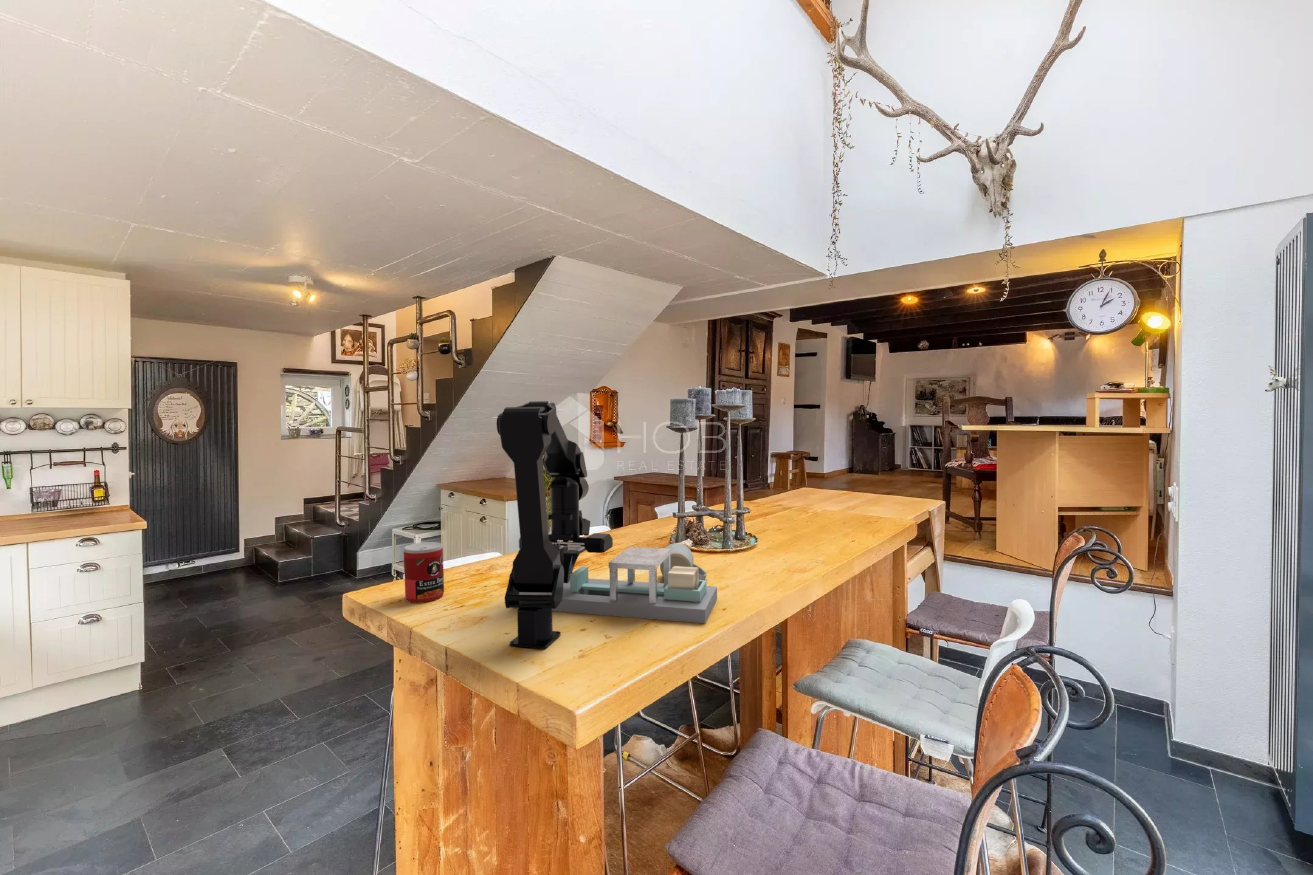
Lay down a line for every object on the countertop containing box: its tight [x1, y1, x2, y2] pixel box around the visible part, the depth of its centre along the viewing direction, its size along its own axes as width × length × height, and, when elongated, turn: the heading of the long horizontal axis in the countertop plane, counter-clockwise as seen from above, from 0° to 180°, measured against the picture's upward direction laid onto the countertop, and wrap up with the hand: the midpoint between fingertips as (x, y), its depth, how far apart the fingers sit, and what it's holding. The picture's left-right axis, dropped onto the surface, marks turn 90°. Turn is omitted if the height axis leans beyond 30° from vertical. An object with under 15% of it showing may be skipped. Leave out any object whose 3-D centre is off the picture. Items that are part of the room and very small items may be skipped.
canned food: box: [403, 541, 445, 603], centre depth 118 cm, size 8×8×11 cm
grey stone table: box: [608, 546, 671, 604], centre depth 111 cm, size 13×9×8 cm
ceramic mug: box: [659, 542, 708, 580], centre depth 128 cm, size 11×8×8 cm
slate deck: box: [519, 578, 718, 624], centre depth 112 cm, size 14×38×2 cm, turn 75°
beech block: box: [668, 566, 699, 590], centre depth 109 cm, size 5×5×5 cm
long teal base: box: [570, 566, 708, 602], centre depth 111 cm, size 7×26×4 cm, turn 75°
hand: (566, 582), depth 115 cm, fingers closed
